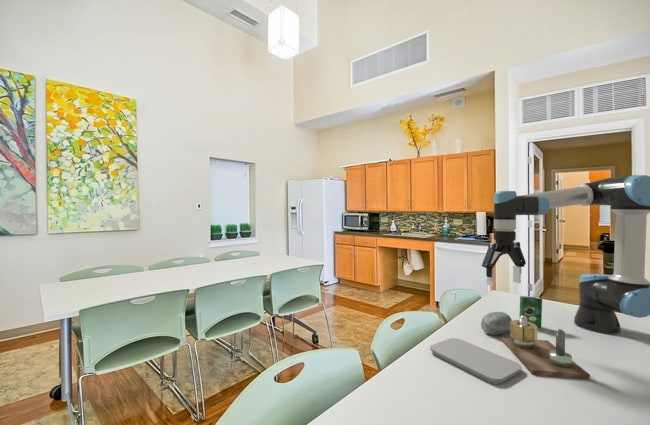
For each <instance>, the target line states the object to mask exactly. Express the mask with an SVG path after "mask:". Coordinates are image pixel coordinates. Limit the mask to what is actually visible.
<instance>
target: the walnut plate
mask: <svg viewBox="0 0 650 425" xmlns="http://www.w3.org/2000/svg"><path fill="white" fill-rule="evenodd" d="M501 341H502V343H503V345H505V346H506V347H507V349H509V351H510V352H512V354H513V355H514V356H515V358H517V359H518V361H519V362H520V363H521V364H522V365H523V366H524V368H525V369H527V370H528V372H529V373H530V374H531V375H532V376H545V377H555V378H556V377H557V378H569V379H570V378H571V379H580V380H581V379H582V380H591V374H590V373H589V372H588V371H587V370H585V369H584V368H582V367H581V366H580V365H579V364H577V362H575V361H574V360H572V367H571V368H562V367H558V366H555V365H553V364H551V363H550V362H549V351H550V350H556V345H554V344H552V343H551V342H550V341H549V340H547V339H546V340H545V339H537V341H535V342H533V348H532V349H523V348H519V347H517V346H515V345H514V338H512V337H502V338H501Z"/></svg>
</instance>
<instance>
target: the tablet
mask: <svg viewBox="0 0 650 425" xmlns="http://www.w3.org/2000/svg"><path fill="white" fill-rule="evenodd" d="M429 347H430V348H429V349H430V351H431V353H432V355H434V356H435V357H438V358H440V359H442V360H444V361H446V362H448V363H449V364H451V365H454V366H456V367H458V368H460V369H462V370H464V371H465V372H468V373H470V374H472V375H473V376H476V377H478V378H479V379H482V380H484V381H486V382H488V383H490V384H495V385H499V384H501V383H503V382H505V381H507V380H509V379H511V378H513V377H514V376H516V375H519V373H520V372H521V371H522V366H521V364H520V363H518V362H516V361H515V360H512V359H509V358H507V357H505V356H502V355H499V354H498V353H495V352H493V351H490V350H488V349H485V348H482V347H480V346H479V345H478V346H477V345H476V344H473V343H471V342H468V341H466V340H464V339H461V338H454V337H451V338H448V339H444V340H442V341H439V342H437V343H433V344H430V346H429Z"/></svg>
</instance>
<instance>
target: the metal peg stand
mask: <svg viewBox="0 0 650 425" xmlns="http://www.w3.org/2000/svg"><path fill="white" fill-rule="evenodd" d="M555 347H556V350H550V351H549V362H550V363H551V364H553V365H555V366H558V367H562V368H571V367H572V361H573V356H572V355H571V354H570V353H569V352H566V332H565V331H564V330H563V329H560V328H559V329H556V330H555Z"/></svg>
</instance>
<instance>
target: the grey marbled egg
mask: <svg viewBox="0 0 650 425" xmlns="http://www.w3.org/2000/svg"><path fill="white" fill-rule="evenodd" d="M510 321H513V319H512V317H511V316H510V315H509V314H507V313H506V312H503V311H492V312H488V313H486V314H484V315H483V317H482V319H481V321H480V322H481V323H480V327H481V330H482V331H483V332H484V333H485V334H487V335H492V336H496V335H497V336H498V335H501V334H502V335H503V334H505V333H507V332H510Z"/></svg>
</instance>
